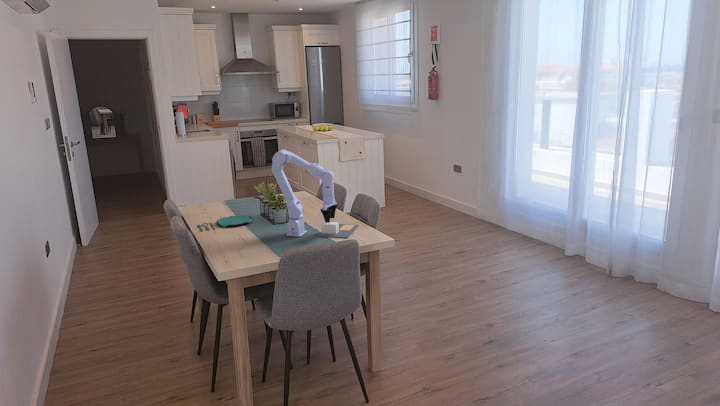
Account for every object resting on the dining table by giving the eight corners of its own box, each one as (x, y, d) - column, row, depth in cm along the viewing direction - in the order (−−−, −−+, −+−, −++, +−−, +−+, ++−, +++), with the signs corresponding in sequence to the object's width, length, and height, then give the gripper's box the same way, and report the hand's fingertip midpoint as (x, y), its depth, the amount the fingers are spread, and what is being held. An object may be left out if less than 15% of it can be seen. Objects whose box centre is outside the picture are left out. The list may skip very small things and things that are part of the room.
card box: (336, 234, 253) (335, 224, 251) (321, 233, 255) (321, 224, 253) (338, 231, 257) (338, 222, 256) (324, 230, 259) (323, 221, 258)
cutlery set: (256, 224, 276) (256, 220, 275) (201, 234, 264) (200, 229, 263) (248, 216, 293) (247, 212, 293) (195, 225, 281) (195, 221, 280)
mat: (347, 238, 247) (347, 237, 247) (317, 236, 252) (317, 235, 251) (358, 225, 268) (358, 224, 268) (330, 224, 272) (330, 223, 272)
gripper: (331, 198, 243) (332, 224, 246) (340, 191, 256) (341, 216, 260) (318, 197, 245) (319, 223, 248) (327, 191, 258) (328, 216, 262)
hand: (329, 220), depth 254 cm, fingers open, 7 cm apart
